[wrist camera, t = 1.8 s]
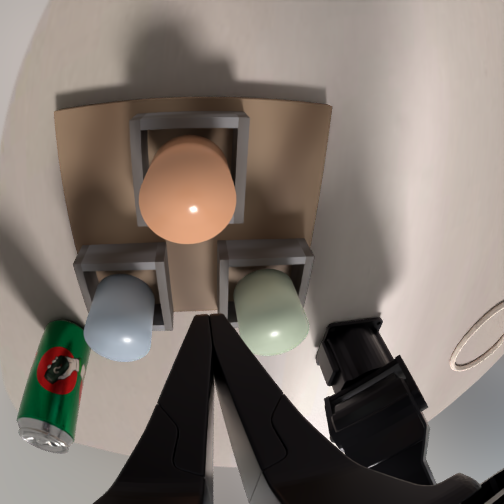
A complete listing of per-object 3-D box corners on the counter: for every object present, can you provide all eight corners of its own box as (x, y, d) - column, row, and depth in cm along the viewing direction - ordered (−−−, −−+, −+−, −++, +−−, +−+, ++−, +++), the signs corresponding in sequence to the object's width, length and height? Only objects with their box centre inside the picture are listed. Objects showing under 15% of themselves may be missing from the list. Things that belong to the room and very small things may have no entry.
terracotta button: (229, 134, 16) (238, 153, 13) (227, 207, 19) (234, 242, 15) (148, 136, 16) (135, 156, 12) (152, 209, 18) (143, 245, 15)
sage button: (297, 267, 22) (315, 306, 19) (289, 313, 24) (302, 352, 21) (234, 270, 21) (242, 311, 18) (232, 316, 24) (239, 358, 20)
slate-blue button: (150, 272, 20) (144, 315, 17) (158, 319, 23) (155, 361, 20) (90, 274, 20) (74, 314, 16) (103, 320, 22) (94, 360, 19)
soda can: (38, 318, 25) (2, 424, 15) (80, 313, 25) (50, 431, 16) (60, 351, 28) (37, 452, 18) (100, 349, 28) (83, 457, 18)
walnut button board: (326, 104, 19) (348, 112, 16) (295, 297, 28) (306, 324, 25) (59, 109, 16) (37, 119, 13) (97, 304, 25) (89, 333, 22)
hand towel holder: (454, 369, 37) (547, 282, 31) (440, 348, 40) (531, 265, 35) (464, 394, 45) (540, 326, 40) (454, 377, 49) (528, 312, 43)
